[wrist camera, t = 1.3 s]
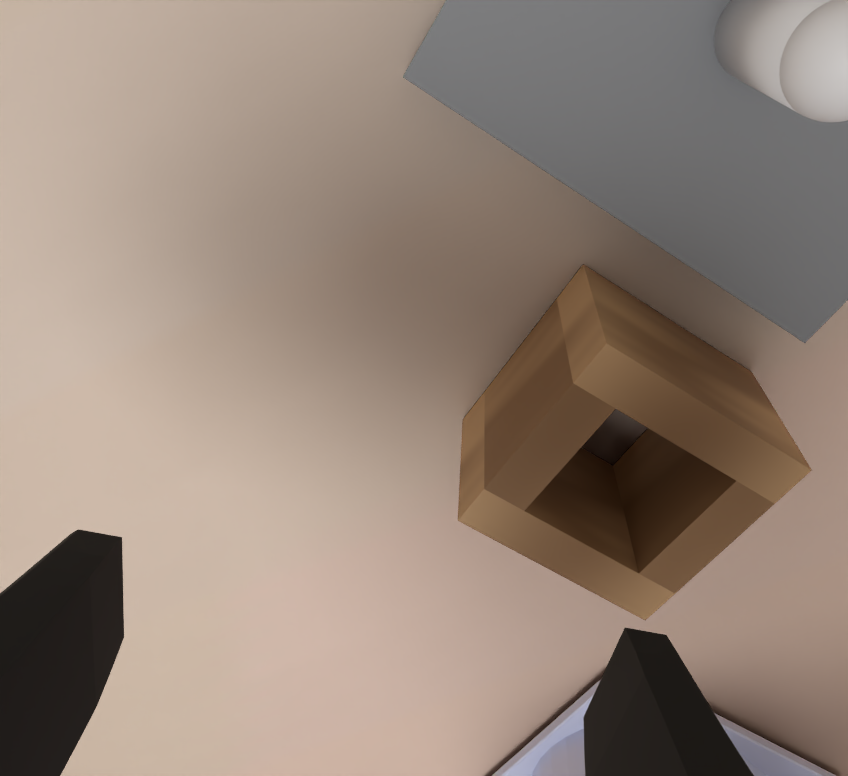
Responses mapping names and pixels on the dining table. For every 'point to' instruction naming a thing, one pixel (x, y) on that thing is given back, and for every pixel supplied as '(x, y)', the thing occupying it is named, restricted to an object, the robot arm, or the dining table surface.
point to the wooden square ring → (640, 465)
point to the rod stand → (675, 126)
